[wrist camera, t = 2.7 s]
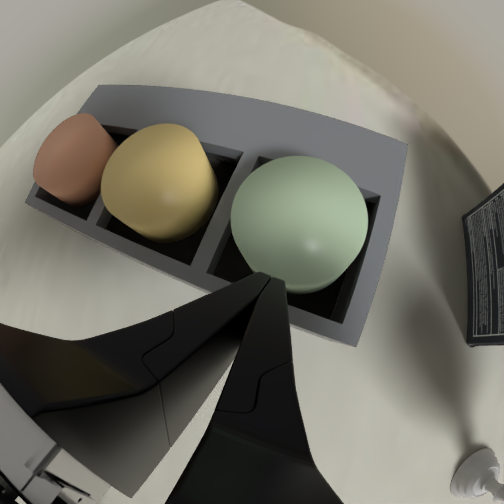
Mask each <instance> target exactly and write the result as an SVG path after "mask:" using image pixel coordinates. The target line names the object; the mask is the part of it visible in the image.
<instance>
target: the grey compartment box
mask: <svg viewBox="0 0 504 504" xmlns="http://www.w3.org/2000/svg"><path fill="white" fill-rule="evenodd" d="M81 113H88V114H91V115H92V116H94V118H95V119H96V120H97V121H98V122H99V123H100V125H101V126H102V127H103V128H104V129H105V130H106V132H107V133H108V134H109V135H110V136H111V137H112V139H113V140H114V141H115V142H116V143H117V145H118V146H120V145H121V144H122V143H123V142H124V141H125V140H126V139H127V138H129V137H130V136H131V135H133V134H134V133H136V132H138V131H140V130H142V129H144V128H147V127H149V126H153V125H157V124H167V123H169V124H177V125H181V126H183V127H185V128H187V129H189V130H190V131H191V132H193V133H194V134H195V136H196V137H197V138H198V140H199V142H200V144H201V146H202V148H203V150H204V152H205V154H206V156H207V157H211V158H215V159H218V160H222V161H226V162H230V163H234V164H238V165H237V167H236V169H235V171H234V173H233V175H232V177H231V179H230V181H229V183H228V185H227V187H226V189H225V191H224V193H223V196H222V198H221V200H220V202H219V204H218V206H217V208H216V210H215V213H214V215H213V217H212V219H211V221H210V223H209V226H208V228H207V230H206V232H205V234H204V237H203V239H202V241H201V243H200V245H199V248H198V250H197V252H196V254H195V257H194V259H193V261H192V264H191V266H189V265H186V264H184V263H182V262H179V261H177V260H174V259H172V258H170V257H167V256H165V255H163V254H160V253H158V252H156V251H153V250H151V249H149V248H146V247H144V246H142V245H139V244H137V243H135V242H132V241H130V240H128V239H126V238H123V237H121V236H119V235H117V234H114V233H112V232H110V231H108V230H106V228H107V226H108V224H109V222H110V220H111V218H112V216H113V215H112V214H111V213H110V212H109V211H108V209H107V208H106V206H105V204H104V202H103V199H102V195H101V193H100V195H99V197H98V199H96V200H95V201H93V202H92V203H90V204H88V205H86V206H82V207H71V206H69V205H67V204H66V203H64V202H63V201H61V200H60V199H58V198H57V197H55V196H54V195H52V194H51V193H49V192H48V191H46V190H45V189H43V188H42V187H40V186H39V185H38V184H37V183H36V182H35V183H34V185H33V187H32V189H31V191H30V193H29V195H28V197H27V199H26V201H25V203H26V204H28V205H30V206H31V207H33V208H35V209H37V210H38V211H40V212H42V213H44V214H45V215H47V216H49V217H51V218H52V219H54V220H56V221H58V222H60V223H61V224H63V225H65V226H67V227H69V228H70V229H72V230H74V231H76V232H78V233H80V234H82V235H83V236H85V237H87V238H89V239H91V240H93V241H95V242H97V243H99V244H101V245H103V246H105V247H108V248H110V249H112V250H114V251H116V252H118V253H120V254H122V255H124V256H126V257H128V258H130V259H132V260H135V261H137V262H139V263H141V264H143V265H145V266H147V267H150V268H152V269H154V270H156V271H158V272H161V273H163V274H165V275H167V276H169V277H172V278H174V279H176V280H178V281H181V282H183V283H185V284H188V285H190V286H192V287H194V288H197V289H199V290H201V291H204V292H206V293H208V294H210V293H212V292H214V291H216V290H219V289H221V288H223V287H225V286H228V285H230V284H232V283H231V282H228V281H226V280H223V279H221V278H218V277H216V276H213V273H214V271H215V268H216V266H217V264H218V261H219V259H220V257H221V254H222V252H223V250H224V247H225V245H226V243H227V240H228V238H229V236H230V234H231V231H232V228H231V209H232V204H233V200H234V198H235V195H236V193H237V191H238V189H239V187H240V186H241V184H242V183H243V182H244V180H245V179H246V178H247V177H248V176H249V175H250V174H251V173H252V172H253V171H255V170H256V169H257V168H259V167H260V166H262V165H264V164H266V163H268V162H270V161H272V160H275V159H278V158H283V157H288V156H308V157H314V158H318V159H321V160H324V161H326V162H329V163H331V164H333V165H335V166H336V167H338V168H339V169H341V170H342V171H343V172H344V173H346V174H347V175H348V176H349V177H350V178H351V179H352V180H353V182H354V183H355V184H356V186H357V187H358V188H359V190H360V192H361V194H362V196H363V199H364V201H365V204H366V208H367V214H368V229H367V234H366V238H365V241H364V244H363V246H362V248H361V250H360V252H359V254H358V255H357V256H356V258H355V259H354V261H353V262H352V263H351V264H350V265H349V266H348V269H347V272H346V275H345V278H344V281H343V284H342V287H341V290H340V293H339V296H338V299H337V301H336V304H335V307H334V310H333V313H332V315H331V318H330V320H329V319H326V318H323V317H320V316H317V315H315V314H312V313H309V312H307V311H304V310H301V309H298V308H296V307H293V306H290V305H288V313H289V323H290V326H291V327H294V328H296V329H299V330H302V331H304V332H307V333H310V334H313V335H315V336H318V337H321V338H324V339H327V340H329V341H333V342H337V343H341V344H345V345H349V346H353V347H356V346H357V344H358V341H359V338H360V335H361V333H362V330H363V327H364V324H365V321H366V318H367V315H368V312H369V309H370V306H371V303H372V300H373V297H374V294H375V291H376V287H377V284H378V281H379V277H380V274H381V270H382V267H383V263H384V260H385V256H386V252H387V248H388V244H389V240H390V236H391V232H392V228H393V223H394V219H395V214H396V210H397V205H398V200H399V195H400V190H401V184H402V179H403V173H404V167H405V160H406V154H407V146H408V144H406V143H403V142H401V141H398V140H396V139H393V138H391V137H388V136H385V135H383V134H380V133H377V132H374V131H372V130H369V129H366V128H363V127H360V126H357V125H354V124H351V123H348V122H345V121H341V120H338V119H335V118H331V117H328V116H324V115H321V114H317V113H314V112H310V111H306V110H302V109H298V108H294V107H290V106H286V105H281V104H277V103H272V102H268V101H263V100H258V99H253V98H247V97H242V96H236V95H230V94H223V93H216V92H209V91H201V90H193V89H183V88H172V87H159V86H141V85H98V87H97V88H96V89H95V90H94V92H93V93H92V94H91V96H90V97H89V98H88V99H87V101H86V102H85V103H84V105H83V106H82V108H81V109H80V110H79V112H78V113H77V114H81ZM77 114H76V115H77Z"/></svg>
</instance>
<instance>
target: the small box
mask: <svg viewBox="0 0 504 504" xmlns="http://www.w3.org/2000/svg"><path fill="white" fill-rule="evenodd" d="M462 218H463V226H464V235H465V244H466V256H467V271H468V335H467V344H468V345H469V346H470V347H475V346H485V345H486V346H488V345H504V183H503V184H502V185H501V186H500V187H499V188H498V189H497V190H495V191H494V192H493V193H492V194H490V195H489V196H488V197H487V198H486V199H485V200H483V201H482V202H481V203H479V204H478V205H477V206H476V207H475V208H473V209H472V210H470V211H469V212H468V213H466V214H465V215H463V217H462Z"/></svg>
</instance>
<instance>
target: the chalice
mask: <svg viewBox="0 0 504 504" xmlns="http://www.w3.org/2000/svg"><path fill="white" fill-rule="evenodd" d="M499 472H500V465H499V463H498V461H497V458H496V457H495V453H494V452H493V450H492V449H488V448H485V449H480V450H479V451H477V452H475V453H473V454H472V455H471V456H470V457H468V458H467V459H466V460H465V461H464V462H463V463H462V464H461V466H460V467H459V468H458V470H457V471H456V473H455V474H454V477H453V479H452V481H451V487H450V490H451V493H452V494H453V495H454V496H456V497H466V498H468V497H469V498H475V497H479V496H482V495H484V494H485V493H487V492H488V491H489V492H491V493H492V494H493V496H494V498H493V501H494V502H498V501H504V484H500V483H498V481H497V479H498V477H499Z"/></svg>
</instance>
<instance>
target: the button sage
mask: <svg viewBox="0 0 504 504" xmlns="http://www.w3.org/2000/svg"><path fill="white" fill-rule="evenodd" d="M231 228H232V234H233V237H234V240H235V243H236V245H237V247H238V249H239V250H240V252H241V254H242V255H243V257H244V259H245V260H246V262H247V263H248V265H249V267H250V268H251V270H252V271H253V272H254V273H256V272H263V273H266V274H268V275H271V278H272V277H276V278H279V279H282V280H284V281H285V284H286V293H288V294H309V293H313V292H316V291H319V290H322V289H324V288H325V287H327V286H329V285H330V284H332V283H333V282H334V281H335V280H336V279H337V278H338V277H339V276H340V275H341V274H342V273H343V272H344V271H345V270H346V269H347V267H348V266H349V265H350V264H351V263H352V262H353V261H354V259H355V258H356V256H357V255H358V254H359V252H360V250H361V248H362V246H363V244H364V241H365V238H366V234H367V229H368V214H367V208H366V204H365V201H364V199H363V196H362V194H361V192H360V190H359V188H358V187H357V186H356V184H355V183H354V182H353V180H352V179H351V178H350V177H349V176H348V175H347V174H346V173H344V172H343V171H342V170H341V169H339V168H338V167H336V166H335V165H333V164H331V163H329V162H326V161H324V160H321V159H318V158H314V157H308V156H288V157H283V158H278V159H275V160H272V161H270V162H268V163H266V164H264V165H262V166H260V167H259V168H257V169H256V170H255V171H253V172H252V173H251V174H250V175H249V176H248V177H247V178H246V179H245V180H244V182H243V183H242V184H241V186H240V187H239V189H238V191H237V193H236V195H235V198H234V200H233V204H232V209H231Z"/></svg>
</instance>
